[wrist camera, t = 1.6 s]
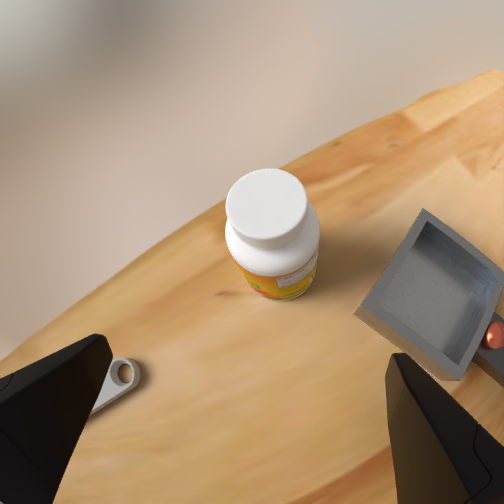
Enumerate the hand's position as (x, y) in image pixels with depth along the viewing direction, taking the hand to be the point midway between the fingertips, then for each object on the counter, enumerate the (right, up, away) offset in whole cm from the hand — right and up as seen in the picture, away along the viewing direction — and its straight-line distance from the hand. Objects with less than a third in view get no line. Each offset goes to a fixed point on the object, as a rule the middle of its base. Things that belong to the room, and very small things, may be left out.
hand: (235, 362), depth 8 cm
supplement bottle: (+3, +2, +15) cm, 15 cm away
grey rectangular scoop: (+19, -4, +9) cm, 21 cm away
